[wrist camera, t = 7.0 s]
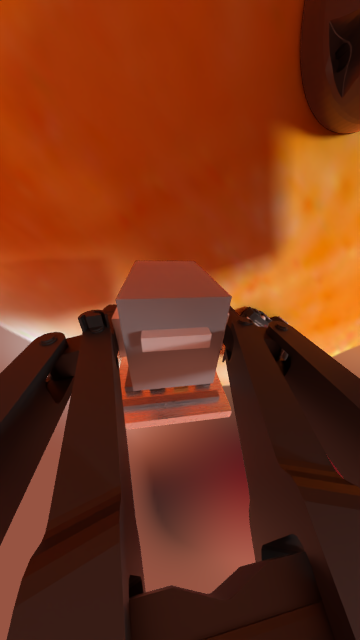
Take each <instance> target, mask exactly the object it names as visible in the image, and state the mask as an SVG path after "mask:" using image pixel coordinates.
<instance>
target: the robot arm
mask: <svg viewBox="0 0 360 640" xmlns="http://www.w3.org/2000/svg"><path fill="white" fill-rule="evenodd" d="M301 73H302V81H303V86H304V91H305V95H306V98H307V101H308V104H309V106H310V109H311V111H312V112H313V114H314V116H315V117H316V119H317V120H318V121H319V122H320V123H321V124H322V125H323V126H324V127H326V128H327V129H329V130H331V131H333V132H337V133H354V132H358V131H360V0H305V5H304V12H303V20H302V30H301ZM78 320H79V323H80V326H81V328H82V331H83V333H82V335H80V336H76V337H72V338H67V339H66V338H65V336H64V334H63V333H60V332H54V333H47V334H44V335H42V336H40V337H38V338H36V339H35V340H34V341H33V342H32V343H31V344H30V345H29V346H28V347H27V348H26V349H25V350H24V351H23V352H22V353H21V354H20V355H18V357H16V358H15V359H14V360H13V361H12V363H11V364H10V365H8V366H7V367H6V368H5V369H4V370H3V372H1V373H0V545H1V543H2V541H3V538H4V536H5V534H6V532H7V530H8V528H9V526H10V524H11V522H12V519H13V517H14V515H15V513H16V511H17V509H18V507H19V505H20V502H21V500H22V498H23V496H24V494H25V492H26V490H27V487H28V485H29V483H30V481H31V479H32V477H33V475H34V472H35V470H36V468H37V466H38V464H39V462H40V460H41V457H42V455H43V453H44V451H45V449H46V447H47V445H48V443H49V441H50V438H51V436H52V434H53V432H54V430H55V428H56V426H57V423H58V421H59V419H60V417H61V415H62V413H63V410H64V409H65V406H66V404H67V402H68V400H69V398H70V396H71V399H70V404H69V410H68V415H67V420H66V426H65V431H64V437H63V442H62V448H61V454H60V459H59V464H58V470H57V475H56V481H55V486H54V492H53V497H52V503H51V508H50V513H49V519H48V524H47V528H46V532H45V535H44V537H43V540H42V542H41V544H40V545H39V547H38V548H37V550H36V551H35V553H34V554H33V556H32V557H31V559H30V561H29V563H28V566H27V568H26V571H25V574H24V576H23V578H22V581H21V585H20V588H19V592H18V595H17V599H16V603H15V606H14V610H13V614H12V619H11V623H10V628H9V632H8V636H7V640H360V379H359V378H358V377H357V376H356V375H354V374H353V373H351V372H350V371H349V370H348V369H346V368H345V367H344V366H342V365H341V364H340V363H338V362H337V361H336V360H335V359H333V358H332V357H331V356H329V355H328V354H327V353H326V352H324V351H323V350H322V349H320V348H319V347H318V346H316V345H315V344H314V343H313V342H311V341H310V340H309V339H307V338H306V337H305V336H303V335H302V334H301V333H299V332H298V331H297V330H296V329H294V328H293V327H292V326H290V325H288V324H286V323H284V322H281V321H271V322H270V323H269V324H268V327H260V326H256V324H255V323H254V322H253V321H252V320H250V319H248V318H246V317H240V316H239V315H238V314H237V313H236V312H235V310H234V309H233V308H231V306H230V307H229V311H228V316H227V321H226V325H225V330H224V335H223V339H222V344H221V349H220V350H222V345H223V343H224V345H225V347H226V348H225V352H224V356H223V361H222V362H224V361H225V359H226V365H227V371H228V376H229V382H230V387H231V393H232V398H233V404H234V409H235V415H236V421H237V426H238V432H239V438H240V443H241V449H242V454H243V460H244V465H245V471H246V476H247V482H248V488H249V495H250V505H249V506H250V507H249V518H250V519H249V520H250V528H251V535H252V542H253V548H254V554H255V560H256V563H252V564H248V565H245V566H241V567H239V568H238V569H237V570H236V571H235V572H234V573H233V574H232V575H231V576H229V577H228V578H227V579H226V580H225V581H224V582H223V583H222V584H221V585H220V586H219V587H217V588H216V589H215V590H214V591H213V592H212V593H210V594H205V593H201V592H196V591H192V590H188V589H184V588H180V587H176V586H167V587H164V588H160V589H156V590H153V591H150V592H145V583H144V574H143V567H142V557H141V549H140V542H139V535H138V530H137V525H136V518H135V509H134V500H133V491H132V482H131V473H130V464H129V454H128V445H127V436H126V427H125V418H124V409H123V400H122V391H121V382H120V372H119V363H118V358H117V354H118V351H119V355H120V357H127V356H126V351H125V345H124V340H123V335H122V330H121V325H120V320H119V315H118V309H117V305H108V306H107V307H105V308H104V309H103V310H91V311H87V312H85V313H83V314H81V315H80V316H79V317H78ZM284 351H285V352H286V353H287V354H288V357H287V359H286V360H284V359H283V358H282V355H283V353H284ZM47 376H48V377H47ZM46 378H47V379H46ZM327 456H328V457H329V459H330V460H331V461H332V463H333V464H334V465H335V467H336V468H337V470H338V471H339V472H340V473H341V475H342V476H343V478H344V479H343V478H342V477H341V476H340V475H339V474H338V473H337V472H336V471H335V469H334V467H333V466H332V464H331V462H330V461H329V459H328V457H327Z"/></svg>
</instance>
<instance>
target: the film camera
mask: <svg viewBox="0 0 360 640" xmlns="http://www.w3.org/2000/svg"><path fill="white" fill-rule="evenodd" d="M260 314H261V315H260ZM240 317H246V318H248V319H250V320H252V321H253V322H254V323H255V324H256V326H260V327H268V324H269V323H270V322H271V321H281V322H284V323H286V324H288V323H287V322H286V321H284V320H283V319H282V318H281V317H274V318H271V319H270V318H269V317H268V316H267V315H265V314H264V313H263V312H262V311H258V310H257V309H252V308H251V307H249V308H248V309H247V310H246V311H244V312H243V314H242V315H241V316H240ZM287 357H288V354H287V353H286V352H285V351H284V353H283V355H282V358H283V359H284V360H286V359H287Z"/></svg>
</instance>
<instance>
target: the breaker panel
mask: <svg viewBox="0 0 360 640" xmlns="http://www.w3.org/2000/svg"><path fill="white" fill-rule="evenodd" d="M119 372H120V382H121V391H122V400H123V409H124V418H125V427H126V430H127V429H136V428H144V427H152V426H159V425H168V424H175V423H184V422H192V421H199V420H208V419H216V418H224V417H230V415H231V412H232V410H231V407H230V405H229V402H228V400H227V397H226V395H225V393H224V390H223V388H222V385H221V383H220V380H219V378H218V375H217V373H216V372H215V376H214V381H213V383H210V384H200V385H190V386H180V387H170V388H160V389H150V390H140V391H133V386H132V381H131V376H130V371H129V366H128V361H127V357H122V360H121V364H120V368H119Z"/></svg>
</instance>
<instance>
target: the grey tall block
mask: <svg viewBox="0 0 360 640" xmlns="http://www.w3.org/2000/svg"><path fill="white" fill-rule="evenodd" d="M231 297H232V296H231V295H229V294H228V293H227V292H226V291H225V290H224V289H223V288H222V287H221V286H220V285H219V284H218V283H217V282H216V281H215V280H214V279H213V278H211V277H210V276H209V275H208V274H207V273H206V272H205V271H204V270H203V269H202V268H201V267H200V266H199V265H198V264H197V263H196V262H195V261H135V263H134V265H133V267H132V269H131V271H130V273H129V275H128V276H127V278H126V280H125V282H124V284H123V286H122V288H121V290H120V292H119V294H118V296H117V298H116V304H117V309H118V315H119V320H120V325H121V330H122V335H123V340H124V345H125V351H126V356H127V361H128V366H129V371H130V376H131V381H132V386H133V391H140V390H150V389H160V388H170V387H180V386H190V385H200V384H210V383H213V381H214V376H215V372H216V367H217V362H218V358H219V353H220V349H221V344H222V339H223V335H224V330H225V325H226V321H227V316H228V311H229V307H230V302H231Z"/></svg>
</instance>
